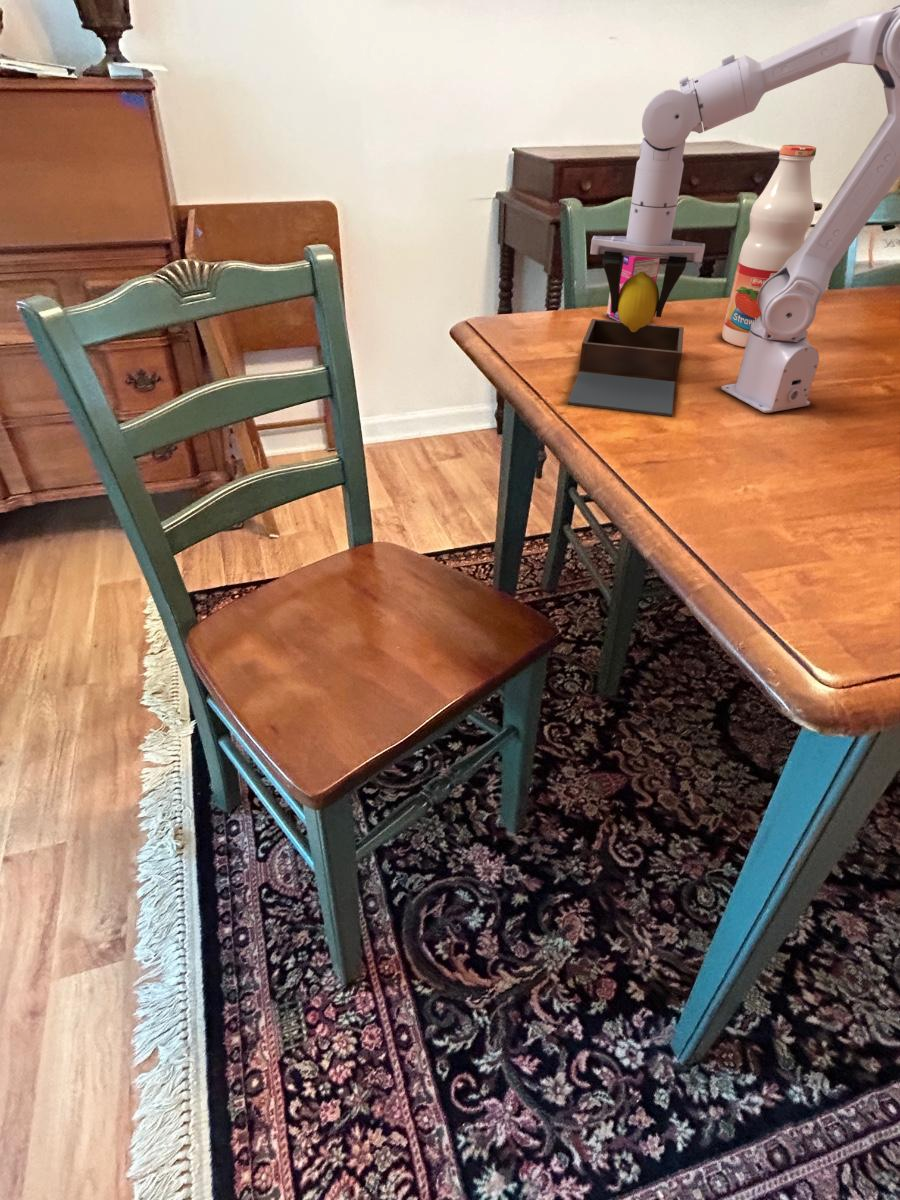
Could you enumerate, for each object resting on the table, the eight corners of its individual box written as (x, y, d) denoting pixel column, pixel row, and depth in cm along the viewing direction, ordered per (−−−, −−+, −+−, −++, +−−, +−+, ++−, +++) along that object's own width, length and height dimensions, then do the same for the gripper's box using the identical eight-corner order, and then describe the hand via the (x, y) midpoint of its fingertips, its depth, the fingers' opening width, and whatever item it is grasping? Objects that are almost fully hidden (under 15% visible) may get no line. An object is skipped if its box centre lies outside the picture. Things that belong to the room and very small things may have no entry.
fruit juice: (772, 332, 128) (824, 143, 111) (785, 351, 120) (842, 151, 103) (716, 330, 129) (759, 141, 112) (725, 348, 121) (772, 149, 104)
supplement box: (604, 316, 134) (614, 248, 127) (631, 312, 136) (642, 245, 129) (623, 326, 130) (634, 255, 123) (651, 321, 132) (663, 252, 125)
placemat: (674, 384, 109) (675, 381, 108) (671, 416, 99) (672, 413, 99) (579, 374, 111) (579, 371, 111) (567, 404, 102) (567, 401, 102)
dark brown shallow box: (678, 354, 119) (684, 327, 116) (676, 382, 109) (682, 353, 107) (588, 345, 122) (591, 318, 119) (578, 371, 112) (581, 343, 110)
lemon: (651, 326, 106) (661, 267, 102) (655, 339, 102) (666, 277, 97) (612, 325, 107) (620, 265, 102) (614, 337, 103) (623, 276, 98)
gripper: (712, 201, 96) (691, 309, 104) (600, 195, 99) (588, 300, 108) (712, 211, 91) (689, 324, 99) (594, 204, 94) (581, 314, 102)
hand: (636, 313), depth 103 cm, fingers closed on lemon, 5 cm apart
